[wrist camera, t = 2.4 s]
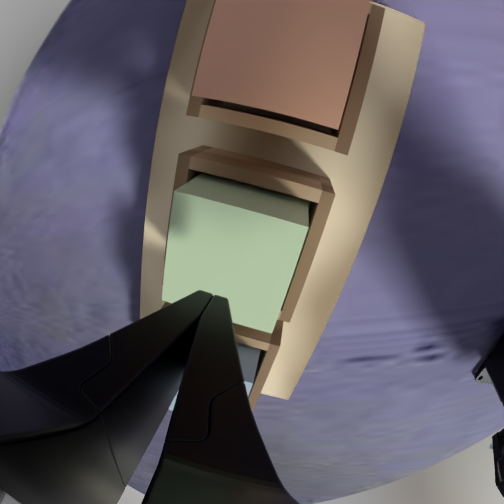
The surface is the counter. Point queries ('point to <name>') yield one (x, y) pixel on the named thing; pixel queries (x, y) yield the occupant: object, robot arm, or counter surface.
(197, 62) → the beige wooden block tray
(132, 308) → the counter surface
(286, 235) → the sage key
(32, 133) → the counter surface
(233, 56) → the terracotta key
